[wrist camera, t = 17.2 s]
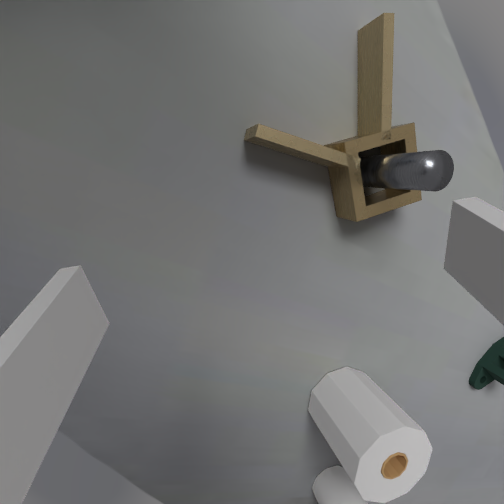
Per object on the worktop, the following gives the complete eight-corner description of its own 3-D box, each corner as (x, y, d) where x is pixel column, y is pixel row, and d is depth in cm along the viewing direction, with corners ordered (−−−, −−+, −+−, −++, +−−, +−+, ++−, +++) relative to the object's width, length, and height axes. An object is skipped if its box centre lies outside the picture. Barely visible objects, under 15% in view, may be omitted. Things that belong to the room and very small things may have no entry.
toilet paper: (381, 392, 51) (446, 455, 40) (332, 439, 50) (384, 517, 39) (346, 353, 47) (407, 410, 36) (294, 404, 47) (338, 478, 35)
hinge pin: (345, 160, 40) (418, 155, 29) (371, 153, 41) (452, 146, 30) (350, 189, 41) (422, 195, 30) (375, 182, 42) (454, 185, 31)
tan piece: (223, 58, 34) (233, 43, 30) (375, 27, 37) (403, 8, 33) (268, 239, 40) (281, 247, 36) (395, 197, 43) (421, 199, 39)
